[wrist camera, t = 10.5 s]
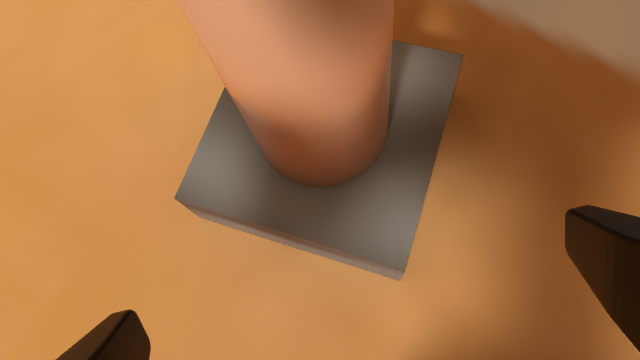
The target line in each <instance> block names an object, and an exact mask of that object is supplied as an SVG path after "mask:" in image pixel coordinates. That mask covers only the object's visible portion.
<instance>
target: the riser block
mask: <svg viewBox="0 0 640 360" xmlns="http://www.w3.org/2000/svg"><path fill="white" fill-rule="evenodd" d="M463 56H464V55H463V54H458V53H453V52H448V51H443V50H438V49H433V48H428V47H423V46H419V45H414V44H409V43H404V42H399V41H394V40H393V41H392V60H391V79H390V98H389V117H388V132H387V138H386V142H385V145H384V147H383V149H382V152H381V153H380V155H379V157H378V158H377V159H376V161H375V162H374V163H373V164H372V165H371V166H370V167H369V168H368V169H367V170H366V171H365V172H364V173H362V174H361V175H359V176H358V177H356V178H354V179H352V180H351V181H348V182H346V183H343V184H339V185H336V186H330V187H310V186H305V185H301V184H298V183H295V182H292V181H290V180H289V179H287V178H285V177H283V176H282V175H281V174H279V173H278V172H277V171H276V170H275V169H274V168H273V167H272V166H271V164H270V163H269V162H268V160H267V159H266V157H265V155H264V153H263V152H262V150H261V148H260V146H259V145H258V143H257V141H256V139H255V138H254V136H253V134H252V132H251V131H250V129H249V127H248V125H247V124H246V122H245V120H244V118H243V117H242V115H241V113H240V111H239V110H238V108H237V106H236V104H235V103H234V101H233V99H232V97H231V95H230V94H229V92H228V90H227V88H226V87H225V88H224V90H223V92H222V95H221V97H220V99H219V101H218V103H217V106H216V108H215V110H214V112H213V114H212V117H211V119H210V121H209V123H208V125H207V128H206V130H205V132H204V134H203V136H202V139H201V141H200V143H199V145H198V147H197V150H196V152H195V154H194V156H193V158H192V161H191V163H190V165H189V167H188V169H187V172H186V174H185V176H184V178H183V180H182V183H181V185H180V187H179V189H178V191H177V194H176V196H175V198H174V199H176V200H177V201H179V202H180V203H181V204H183V205H184V206H185V207H187V208H188V209H189V210H191V211H192V212H193V213H195V214H196V215H197V216H199V217H200V218H203V219H207V220H210V221H213V222H216V223H219V224H222V225H226V226H229V227H232V228H235V229H238V230H241V231H244V232H248V233H251V234H254V235H257V236H260V237H263V238H266V239H270V240H273V241H276V242H279V243H282V244H285V245H288V246H292V247H295V248H298V249H301V250H304V251H307V252H311V253H314V254H317V255H320V256H323V257H326V258H329V259H333V260H336V261H339V262H342V263H345V264H348V265H351V266H355V267H358V268H361V269H364V270H367V271H370V272H373V273H377V274H380V275H383V276H386V277H389V278H392V279H396V280H399V281H401V278H402V276H403V274H404V272H405V269H406V265H407V262H408V258H409V254H410V251H411V247H412V243H413V239H414V236H415V232H416V228H417V225H418V221H419V217H420V214H421V210H422V206H423V203H424V199H425V195H426V192H427V188H428V184H429V181H430V177H431V173H432V170H433V166H434V162H435V159H436V155H437V151H438V148H439V144H440V140H441V137H442V133H443V129H444V125H445V122H446V118H447V114H448V111H449V107H450V103H451V100H452V96H453V92H454V89H455V85H456V81H457V78H458V74H459V70H460V67H461V63H462V59H463Z"/></svg>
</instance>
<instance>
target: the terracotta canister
mask: <svg viewBox="0 0 640 360" xmlns="http://www.w3.org/2000/svg"><path fill="white" fill-rule="evenodd" d="M176 1H177V2H178V4H179V6H180V8H181V9H182V11H183V13H184V15H185V16H186V18H187V20H188V22H189V24H190V25H191V27H192V29H193V31H194V32H195V34H196V36H197V38H198V39H199V41H200V43H201V45H202V46H203V48H204V50H205V52H206V53H207V55H208V57H209V59H210V60H211V62H212V64H213V66H214V67H215V69H216V71H217V73H218V74H219V76H220V78H221V80H222V81H223V83H224V85H225V87H226V88H227V90H228V92H229V94H230V95H231V97H232V99H233V101H234V103H235V104H236V106H237V108H238V110H239V111H240V113H241V115H242V117H243V118H244V120H245V122H246V124H247V125H248V127H249V129H250V131H251V132H252V134H253V136H254V138H255V139H256V141H257V143H258V145H259V146H260V148H261V150H262V152H263V153H264V155H265V157H266V159H267V160H268V162H269V163H270V164H271V166H272V167H273V168H274V169H275V170H276V171H277V172H278V173H279V174H281V175H282V176H283V177H285V178H287V179H289V180H290V181H292V182H295V183H298V184H301V185H305V186H310V187H330V186H336V185H339V184H343V183H346V182H348V181H351V180H352V179H354V178H356V177H358V176H359V175H361V174H362V173H364V172H365V171H366V170H367V169H368V168H369V167H370V166H371V165H372V164H373V163H374V162H375V161H376V159H377V158H378V157H379V155H380V153H381V152H382V149H383V147H384V145H385V142H386V138H387V132H388V117H389V98H390V79H391V60H392V41H393V23H394V4H395V0H176Z"/></svg>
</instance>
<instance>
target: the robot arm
mask: <svg viewBox="0 0 640 360" xmlns="http://www.w3.org/2000/svg"><path fill="white" fill-rule="evenodd" d="M565 247H566V251H567V253H568V255H569V257H570V258H571V260H572V261H573V263H574V264H575V266H576V267H577V269H578V270H579V272H580V273H581V275H582V276H583V278H584V279H585V281H586V282H587V284H588V285H589V286H590V288H591V289H592V291H593V292H594V294H595V295H596V297H597V298H598V300H599V301H600V303H601V304H602V306H603V307H604V309H605V310H606V311H607V313H608V314H609V315H610V317H611V318H612V319H613V321H614V322H615V323H616V324H617V326H618V327H619V328H620V329H621V330H622V332H623V333H624V334H625V335H626V336H627V337H628V339H629V340H630V341H631V342H632V343H633V345H634V346H635V347H636V348H637V349H638V350H639V352H640V217H637V216H633V215H628V214H624V213H620V212H616V211H612V210H608V209H603V208H599V207H595V206H591V205H585V206H580V207H576V208H572V209H569V210H568V211H567V212H566V214H565ZM150 349H151V347H150V340H149V338H148V335H147V333H146V331H145V329H144V327H143V325H142V323H141V321H140V319H139V317H138V315H137V314H136V312H135V311H133V310H125V311H120V312H116V313H113V314H111V315H109V316H108V317H107V318H106V319H105V320H103V321H102V322H101V323H100V324H99V325H97V326H96V327H95V328H94V329H92V330H91V331H90V332H89V333H88V334H86V335H85V336H84V337H83V338H82V339H80V340H79V341H78V342H77V343H75V344H74V345H73V346H72V347H71V348H69V349H68V350H67V351H66V352H64V353H63V354H62V355H61V356H60V357H58V358H57V359H56V360H149V357H150Z"/></svg>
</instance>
